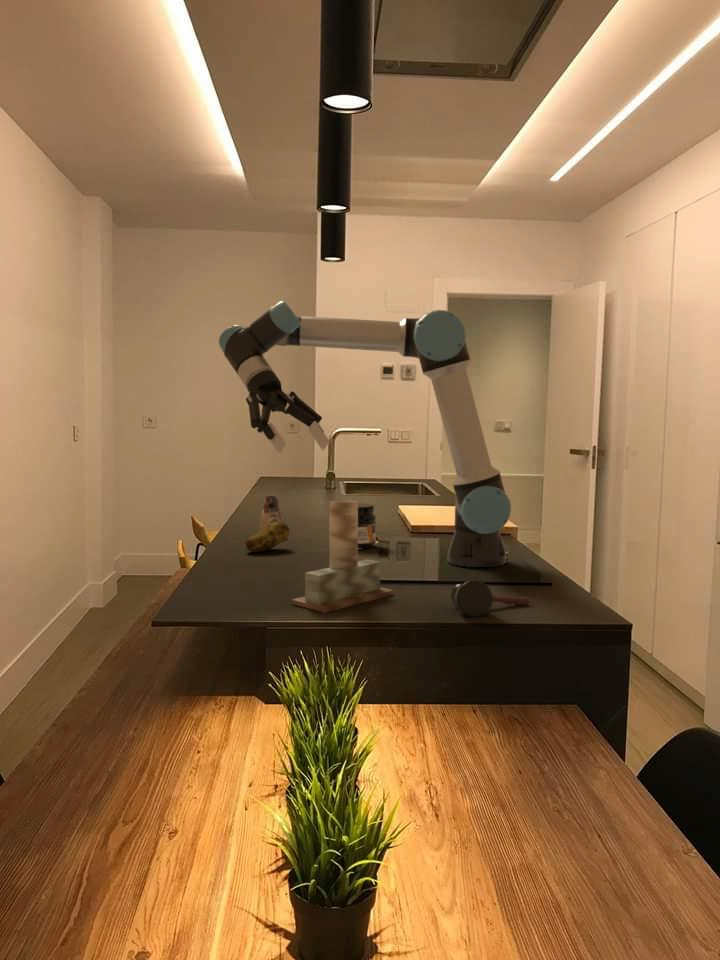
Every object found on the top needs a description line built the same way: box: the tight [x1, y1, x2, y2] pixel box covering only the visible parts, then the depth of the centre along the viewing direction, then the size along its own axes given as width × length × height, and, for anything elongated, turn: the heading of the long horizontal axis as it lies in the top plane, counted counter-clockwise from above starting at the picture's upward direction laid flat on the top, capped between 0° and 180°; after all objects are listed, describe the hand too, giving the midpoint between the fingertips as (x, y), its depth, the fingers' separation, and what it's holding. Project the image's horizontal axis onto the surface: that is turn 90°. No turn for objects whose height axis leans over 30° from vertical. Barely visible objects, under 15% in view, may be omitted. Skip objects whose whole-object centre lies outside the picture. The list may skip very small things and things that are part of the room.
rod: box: [329, 499, 359, 570], centre depth 178 cm, size 6×6×14 cm
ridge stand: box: [291, 559, 394, 614], centre depth 179 cm, size 21×10×7 cm, turn 138°
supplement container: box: [358, 502, 377, 549], centre depth 239 cm, size 10×10×12 cm
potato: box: [245, 521, 290, 553], centre depth 232 cm, size 8×13×8 cm, turn 112°
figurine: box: [258, 494, 282, 531], centre depth 262 cm, size 7×7×12 cm
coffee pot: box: [450, 579, 531, 618], centre depth 171 cm, size 8×18×8 cm
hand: (304, 447), depth 189 cm, fingers open, 13 cm apart
